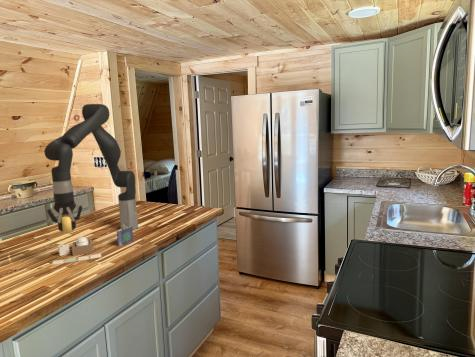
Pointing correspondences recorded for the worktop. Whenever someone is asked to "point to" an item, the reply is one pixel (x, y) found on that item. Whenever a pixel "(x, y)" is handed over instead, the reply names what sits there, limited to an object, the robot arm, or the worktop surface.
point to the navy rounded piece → (124, 235)
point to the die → (63, 249)
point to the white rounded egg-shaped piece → (82, 241)
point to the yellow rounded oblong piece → (66, 224)
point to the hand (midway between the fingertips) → (67, 230)
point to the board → (79, 253)
